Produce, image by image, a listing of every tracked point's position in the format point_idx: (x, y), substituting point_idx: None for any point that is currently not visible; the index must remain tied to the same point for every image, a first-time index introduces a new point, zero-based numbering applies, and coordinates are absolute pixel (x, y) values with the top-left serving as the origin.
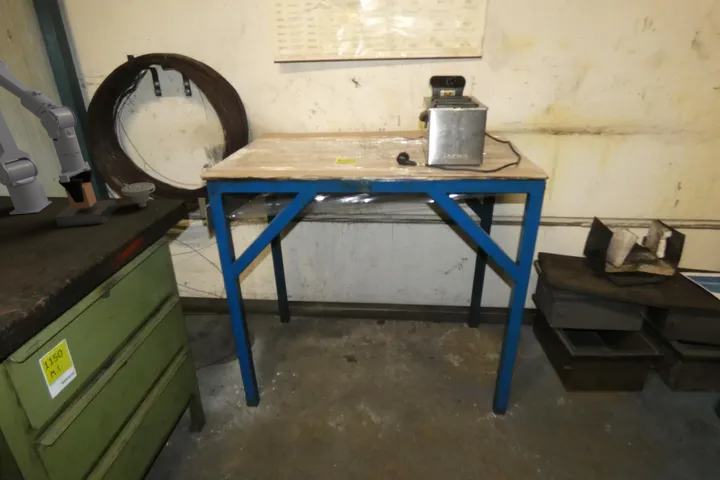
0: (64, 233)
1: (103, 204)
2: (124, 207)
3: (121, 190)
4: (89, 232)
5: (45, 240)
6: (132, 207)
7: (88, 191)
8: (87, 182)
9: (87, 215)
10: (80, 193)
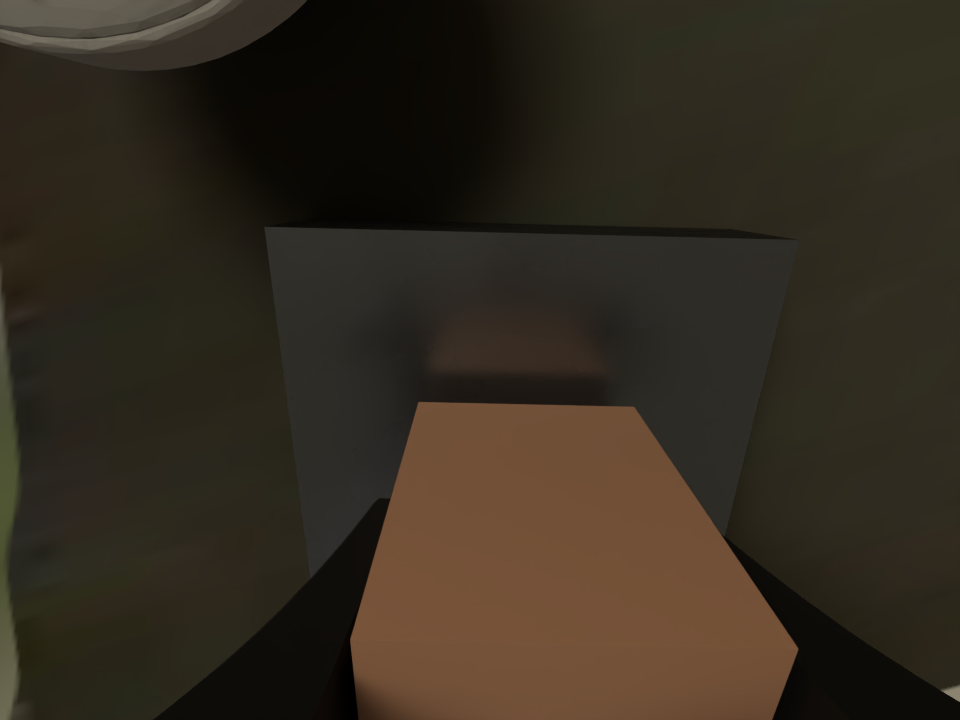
0: (833, 478)
1: (441, 316)
2: (276, 147)
3: (213, 21)
4: (919, 291)
5: (915, 550)
6: (285, 38)
7: (595, 531)
8: (336, 694)
9: (758, 382)
10: (802, 607)
